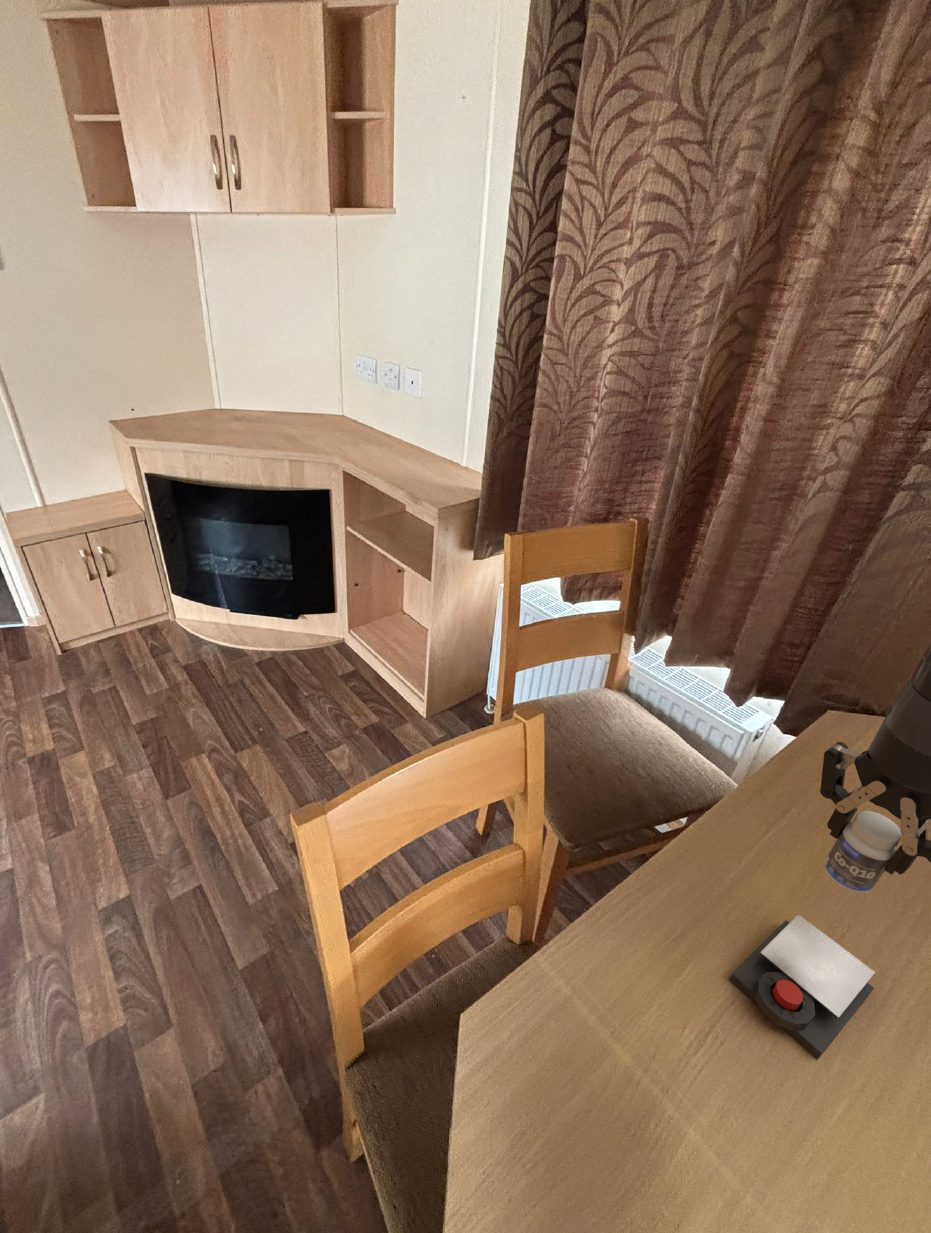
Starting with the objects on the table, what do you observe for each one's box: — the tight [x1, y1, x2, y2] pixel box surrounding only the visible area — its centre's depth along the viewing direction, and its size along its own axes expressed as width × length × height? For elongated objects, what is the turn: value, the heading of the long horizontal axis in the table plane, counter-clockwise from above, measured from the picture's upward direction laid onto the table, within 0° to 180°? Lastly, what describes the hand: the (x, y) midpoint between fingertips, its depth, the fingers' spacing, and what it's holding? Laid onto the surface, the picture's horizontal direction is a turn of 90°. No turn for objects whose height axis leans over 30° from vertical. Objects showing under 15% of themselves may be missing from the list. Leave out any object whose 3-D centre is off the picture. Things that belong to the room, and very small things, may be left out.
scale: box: [729, 920, 875, 1060], centre depth 70 cm, size 13×10×3 cm
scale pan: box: [760, 913, 876, 1019], centre depth 71 cm, size 9×9×1 cm
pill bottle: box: [823, 810, 903, 894], centre depth 66 cm, size 5×5×8 cm
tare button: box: [772, 980, 803, 1011], centre depth 68 cm, size 3×3×1 cm
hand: (863, 850), depth 66 cm, fingers closed on pill bottle, 4 cm apart
